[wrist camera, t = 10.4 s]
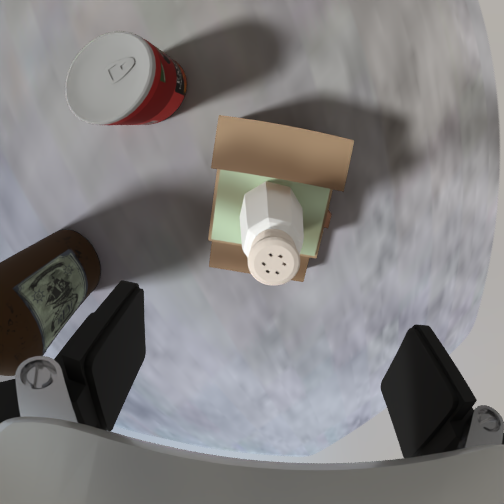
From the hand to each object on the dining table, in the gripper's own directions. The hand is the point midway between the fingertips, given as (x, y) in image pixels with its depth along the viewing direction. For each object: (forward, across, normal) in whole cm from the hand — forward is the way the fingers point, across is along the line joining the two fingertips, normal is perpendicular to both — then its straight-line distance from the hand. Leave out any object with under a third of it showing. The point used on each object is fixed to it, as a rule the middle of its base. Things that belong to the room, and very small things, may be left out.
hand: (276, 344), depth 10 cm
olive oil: (+24, +24, +12) cm, 36 cm away
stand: (+24, 0, 0) cm, 24 cm away
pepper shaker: (+18, 0, 0) cm, 18 cm away
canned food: (+24, +14, -10) cm, 30 cm away
